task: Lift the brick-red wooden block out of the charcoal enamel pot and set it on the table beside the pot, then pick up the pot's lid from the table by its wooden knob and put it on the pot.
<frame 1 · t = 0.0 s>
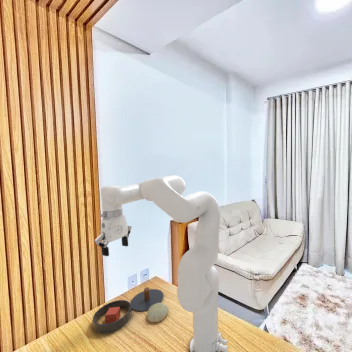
hand: (116, 250, 92), 31 cm above the table, tool pointing down, fingers open, 9 cm apart
pot: (113, 320, 92), on the table
sea urchin shell: (157, 316, 94), on the table
pot lid: (147, 300, 104), point 1 cm above the table
block: (113, 319, 92), resting on pot
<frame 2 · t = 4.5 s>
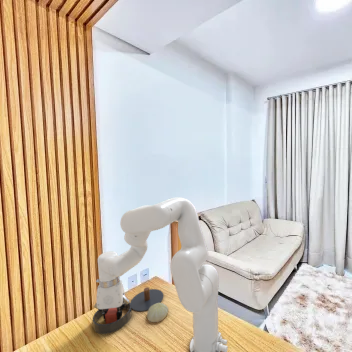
hand: (113, 318, 92), 1 cm above the table, tool pointing down, fingers closed on block, 4 cm apart
block: (113, 319, 92), point 1 cm above the table, touching gripper, pot
everything else where it was.
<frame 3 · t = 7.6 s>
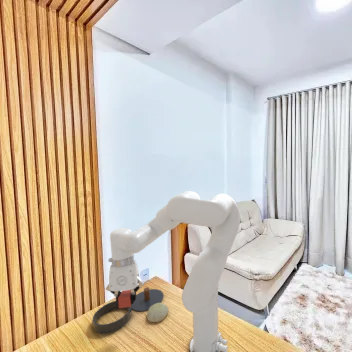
hand: (126, 302, 84), 14 cm above the table, tool pointing down, fingers closed on block, 4 cm apart
block: (126, 303, 84), point 14 cm above the table, touching gripper
everything else where it was.
when the fingers open (1 cm above the table, at t = 11.1 s): block stays where it is, on the table.
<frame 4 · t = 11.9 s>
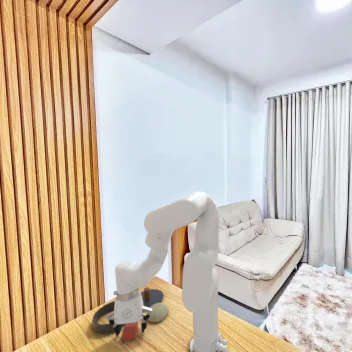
hand: (131, 331, 84), 2 cm above the table, tool pointing down, fingers open, 9 cm apart
block: (131, 335, 84), on the table
everything else where it was.
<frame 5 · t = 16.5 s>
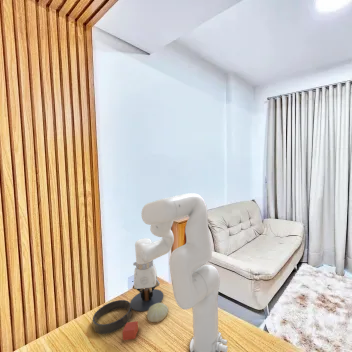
hand: (147, 298, 104), 2 cm above the table, tool pointing down, fingers closed on pot lid, 2 cm apart
pot lid: (147, 300, 104), point 1 cm above the table, touching gripper
everything else where it was.
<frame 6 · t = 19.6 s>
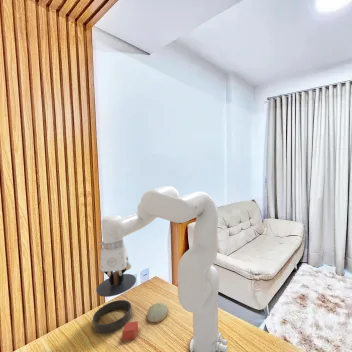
hand: (116, 282, 92), 17 cm above the table, tool pointing down, fingers closed on pot lid, 2 cm apart
pot lid: (117, 284, 92), point 16 cm above the table, touching gripper
everything else where it was.
when the fingers open (6 cm above the table, at t = 22.6 s): pot lid stays where it is, resting on pot.
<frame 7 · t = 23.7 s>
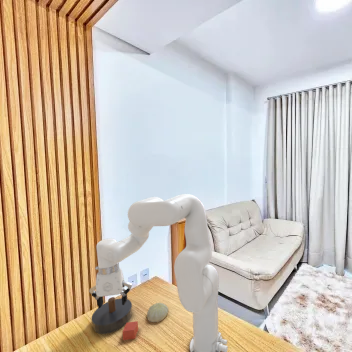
hand: (112, 304, 91), 8 cm above the table, tool pointing down, fingers open, 9 cm apart
pot lid: (112, 311, 92), point 4 cm above the table, touching pot
everything else where it was.
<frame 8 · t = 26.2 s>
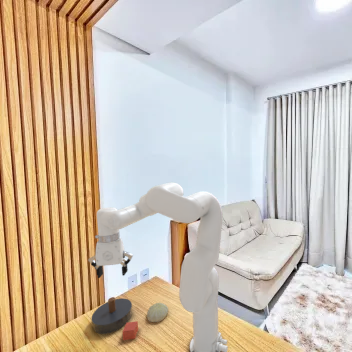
hand: (112, 275, 89), 22 cm above the table, tool pointing down, fingers open, 9 cm apart
nothing on the table moved.
at the end: block inside the target area (0.2 cm from its centre), on the table; pot lid 0.1 cm off-centre on the pot, point 4.5 cm above the pot's base; pot lid tilted 0° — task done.
